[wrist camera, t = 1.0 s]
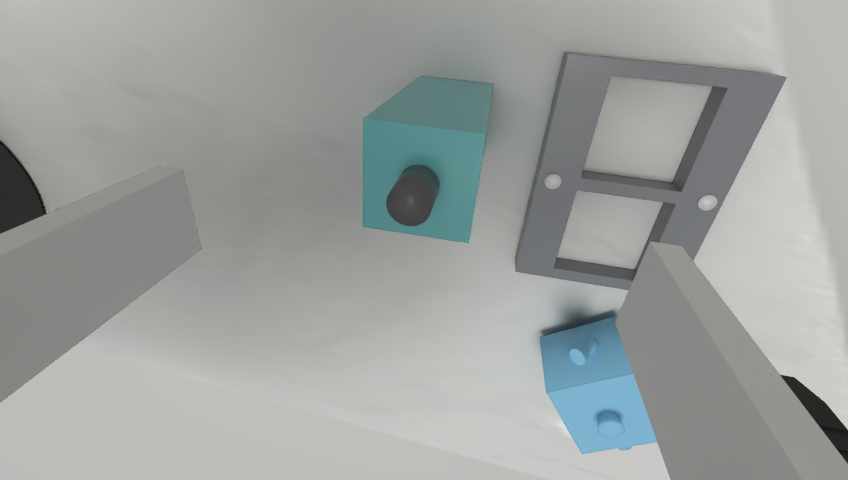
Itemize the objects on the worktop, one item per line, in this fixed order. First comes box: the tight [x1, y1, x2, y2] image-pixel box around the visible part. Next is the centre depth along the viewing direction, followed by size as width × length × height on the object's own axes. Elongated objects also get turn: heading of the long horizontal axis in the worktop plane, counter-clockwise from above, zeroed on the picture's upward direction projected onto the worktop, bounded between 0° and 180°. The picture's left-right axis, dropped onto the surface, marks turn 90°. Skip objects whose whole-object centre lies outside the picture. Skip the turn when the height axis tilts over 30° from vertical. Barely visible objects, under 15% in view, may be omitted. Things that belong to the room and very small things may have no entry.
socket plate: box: [515, 52, 787, 290], centre depth 25 cm, size 11×14×2 cm
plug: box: [363, 76, 493, 243], centre depth 20 cm, size 4×4×14 cm
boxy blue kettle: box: [540, 316, 657, 454], centre depth 30 cm, size 12×6×8 cm, turn 30°
